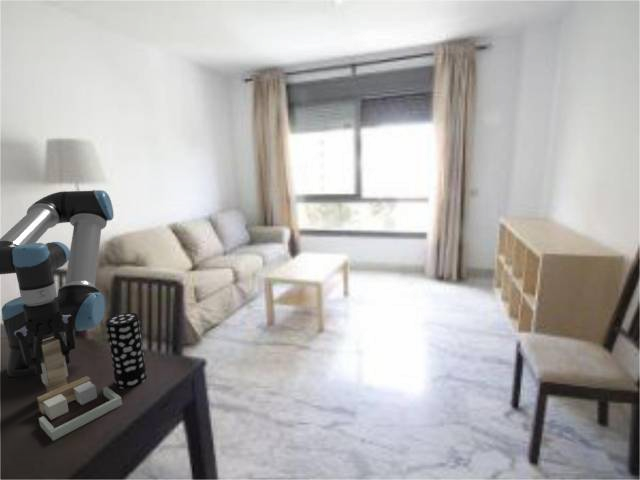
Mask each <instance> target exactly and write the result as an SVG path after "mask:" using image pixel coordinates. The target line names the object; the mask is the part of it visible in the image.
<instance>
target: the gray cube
mask: <svg viewBox="0 0 640 480" xmlns="http://www.w3.org/2000/svg"><path fill="white" fill-rule="evenodd" d="M73 389H74V394H75V400H74V401H76V402H77V403H79V404H80V405H81V406H83V405H85V404H87V403H89V402H91V401H93V400H95V399H97V398H98V394H97V392H98V391H97V388H96V385H95V384H93V383H92V381H91V382H90V381H88V382H86V383H83V384H81V385H79V386H77V387H74V388H73Z"/></svg>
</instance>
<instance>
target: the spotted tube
mask: <svg viewBox="0 0 640 480" xmlns="http://www.w3.org/2000/svg"><path fill="white" fill-rule="evenodd" d="M105 324H106V325H105V326H106V332H107V337H108V344H109V352H110V357H111V363H112V369H113V375H114V376H113V377H114V381H115V386H116V387H117V388H118V389H131V388H134V387H136V386H137V387H138V386H139V385H141V384H142V383H144V382H145V381H146V379H147V375H148V374H147V368H146V362H145V356H144V355H145V353H144V348H143V347H144V346H143V341H142V334H141V333H142V332H141V327H140V319H139V314H137V313H135V312H124V313H119V314H115V315H113V316H111V317H109V318H107V319H106V321H105Z"/></svg>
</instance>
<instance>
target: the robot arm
mask: <svg viewBox="0 0 640 480" xmlns="http://www.w3.org/2000/svg"><path fill="white" fill-rule="evenodd" d="M114 215H115V214H114V208H113V204H112V200H111V197H110V195H109V194H108V192H107V191H105V190H99V189H98V190H97V189H92V190H76V191H75V190H71V191H65V190H64V191H57V192H53V193H51V194H48V195H46V196H44V197H42V198H40V199H38V200H37V201H35V202H34V203H32V205H30V206H29V207H28V208H27V210H26V214H25V216H23V217H22V218H21V219H20V220H19V221H17V223H16V224H14V225H13V226H12V227H11V228H10V229H9V230H8V231H7V232H6V233H5V234H4V235H3V236H2V237H0V275H8V274H10V275H11V274H15V275H16V279H17V283H18V288H19V289H18V290H19V293H20V296H19V297H17V298H13V299H11V300H10V301H9V300H8V301H7V302H5V304H3V305H2V308H1V317H2V318H1V320H2V322H3V326H4V330H5V335H6V340H7V343H8V348H9V351H8V354H7V356H8V357H7V359H6V360H7V361H6V366H5V367H6V373H7V376H9V377H11V378H25V377H26V378H27V377H33V376H36V375H38V376H40V378H41V382H42V384H44V386H46V385H48V384H49V382H48V377H47V372H46V367H45V363H44V362H43V361H42V360H41V353H42V348H41V345H42V340H44V339H47V338H50V337H54V338H55V339H59V341H60V347H61V352H62V357H63V363H64V368H65V373H66V378H67V377H69V371H68V367H67V366H68V365H69V364H70V363H71V361H70V356H69V354H71V353H70V352H71V351H72V350H75V348H76V342H75V336H74V332H83V331H86V330H92V329H95V328H97V327H98V326H99V325H100V323H101V322H102V321H103V320H102V319H103V317H104V314H105V310H106V309H105V308H106V306H105V296H104V295H103V294H102V293H101V292H100V289H99V288H98V287H96V278H97V269H98V260H99V254H100V253H99V251H100V243H101V234H102V230H103V229H105V228H106V226H107V223H108V221H112V220H114ZM63 223H64V224H65V223H70V225H72V226H73V228H72V229H73V231H72V237H71V243H70V248H69V247H68V246H67V245H66V244H64V243H63V242H60V241H52V242H46V243H43V242H38V241H39V239H40V238H42V236H43V235H45V233H46V232H47V231H48V229H52V228H54V227H55V226H57V224H58V225H59V224H63ZM66 263H67V269H66V275H65V282H64V285H63V286H61V287H59V289H58V293H57V292H56V286H55V280H54V273H53V272H54V271H56V270H58V269H60V268H62V267H63V266H65V264H66ZM63 333H65V339H66V340H65V341H66V343H65V341H64V338H63V337H62V335H61V334H63Z"/></svg>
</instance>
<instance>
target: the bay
mask: <svg viewBox="0 0 640 480" xmlns="http://www.w3.org/2000/svg"><path fill="white" fill-rule="evenodd" d="M102 392H103V396H104V397H106V399H108V400H109V401H106V402H105V403H102V404H101V405H99V406H96V407H94V408H93V409H91V410H88V411H87V412H84V413H83V414H80V415H78V416H76V417H74V418H73V419H71V420H69V421H67V422H64V423H62V424H61V425H59V426H57V427H54V426H53V425H52V424H51V423H50V422H49V421H48V419H47V418H46V417H45V416H44V415H43V416H41V417H38V422H39V427H40V428H41V429H42V430H43V431H44V432H45V433H46V435H47V436H48V437H49V438H50V439H51V440H52V442H54V441H56V440H57V439H60V438H62V437H63V436H66V435H68V434H69V433H71V432H73V431H75V430H77V429H78V428H80V427H82V426H84V425H86V424H88V423H90V422H92V421H94V420H96V419H97V418H99V417H101V416H103V415H105V414H107V413H109V412H111V411H113V410H114V409H116V408H119V407H121V406H122V405H123V401H122V397H121V396H120V395H119V394H117V393H116V392H115V391H113V390H112V389H111V388H109V387H108V386H107V385H106V386H104V387H102Z"/></svg>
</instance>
